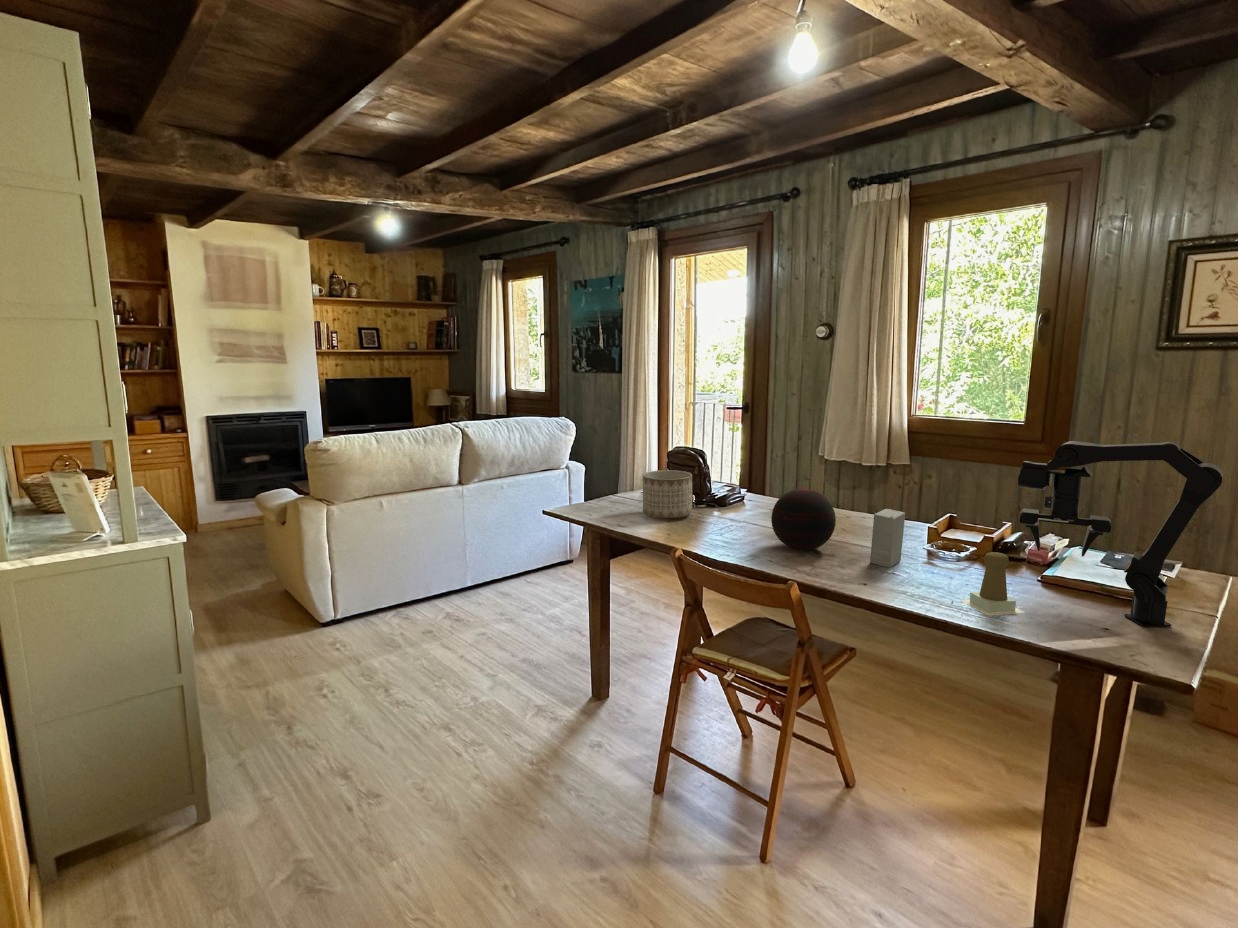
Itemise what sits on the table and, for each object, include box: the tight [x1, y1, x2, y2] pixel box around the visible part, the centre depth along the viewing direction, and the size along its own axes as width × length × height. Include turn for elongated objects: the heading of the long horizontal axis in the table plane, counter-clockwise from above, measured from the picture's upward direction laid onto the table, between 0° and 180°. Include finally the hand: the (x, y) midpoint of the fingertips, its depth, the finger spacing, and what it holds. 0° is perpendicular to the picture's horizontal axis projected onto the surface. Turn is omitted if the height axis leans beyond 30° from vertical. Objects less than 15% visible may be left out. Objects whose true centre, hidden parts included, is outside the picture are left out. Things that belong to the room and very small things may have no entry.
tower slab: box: [960, 598, 1026, 616], centre depth 164 cm, size 10×10×2 cm
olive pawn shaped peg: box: [979, 551, 1010, 601], centre depth 162 cm, size 6×6×11 cm
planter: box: [642, 469, 693, 520], centre depth 261 cm, size 19×19×16 cm
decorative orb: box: [770, 488, 837, 552], centre depth 214 cm, size 20×20×20 cm
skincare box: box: [869, 508, 906, 568], centre depth 200 cm, size 8×7×16 cm
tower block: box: [969, 591, 1017, 613], centre depth 163 cm, size 7×7×2 cm
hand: (1060, 553), depth 167 cm, fingers open, 9 cm apart
